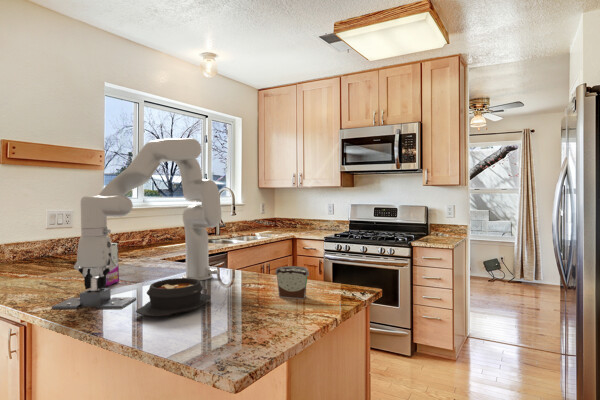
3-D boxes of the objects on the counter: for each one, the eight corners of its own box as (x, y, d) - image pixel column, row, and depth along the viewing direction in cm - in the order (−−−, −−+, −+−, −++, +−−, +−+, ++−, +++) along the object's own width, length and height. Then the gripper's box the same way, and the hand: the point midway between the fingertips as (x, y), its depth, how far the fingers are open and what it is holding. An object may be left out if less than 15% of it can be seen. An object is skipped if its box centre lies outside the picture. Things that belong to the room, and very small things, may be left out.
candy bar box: (108, 281, 158) (108, 242, 158) (119, 282, 157) (118, 242, 157) (88, 288, 147) (88, 246, 147) (100, 289, 146) (99, 246, 146)
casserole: (168, 326, 104) (167, 296, 104) (121, 317, 112) (120, 289, 112) (224, 302, 127) (223, 277, 126) (181, 296, 135) (181, 272, 135)
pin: (102, 300, 127) (102, 276, 127) (97, 302, 125) (97, 278, 124) (93, 300, 128) (93, 276, 127) (88, 302, 125) (88, 278, 124)
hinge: (136, 299, 131) (135, 286, 131) (121, 308, 121) (121, 294, 121) (71, 300, 131) (71, 287, 131) (52, 308, 121) (51, 294, 121)
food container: (313, 294, 135) (313, 266, 134) (308, 299, 129) (308, 270, 129) (281, 292, 139) (281, 265, 138) (275, 296, 133) (274, 268, 133)
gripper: (124, 231, 129) (125, 285, 130) (76, 232, 130) (77, 285, 130) (113, 234, 122) (114, 290, 122) (62, 234, 122) (63, 291, 122)
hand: (95, 287), depth 126 cm, fingers open, 3 cm apart
